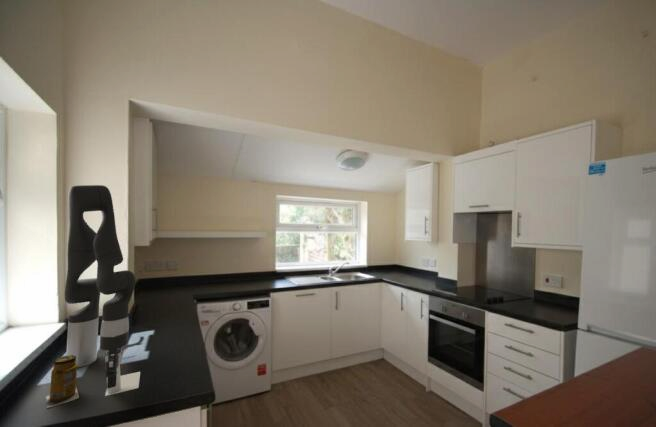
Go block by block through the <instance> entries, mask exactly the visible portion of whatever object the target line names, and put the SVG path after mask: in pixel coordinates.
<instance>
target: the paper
mask: <svg viewBox="0 0 656 427" xmlns="http://www.w3.org/2000/svg"><path fill="white" fill-rule="evenodd" d="M140 377H141V371H137V372H132V373H127V374H123V375H120V378H121V389H120V390H119V391H117V392H115V393H111V394H108V393H107V389H106V390H105V393H104V394H105V395H104V397H109V396H111V395H116V394H119V393H124V392H127V391H132V390H136V389H139V388H140V387H139V386H140Z"/></svg>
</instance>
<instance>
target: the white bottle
mask: <svg viewBox="0 0 656 427" xmlns="http://www.w3.org/2000/svg"><path fill="white" fill-rule="evenodd" d="M117 358H118V357H117ZM105 359H106V356H105V357H104V360H105ZM104 362H105V364H106V360H105V361H104ZM120 365H121V361H120V362H119V367H117V376H116V386H115V387H112V388H107V387H106V390H107V393H108V394H111V393H115V392H117V391H119V390H120V389H121V378H120V376H121V366H120ZM111 372H114V371H111ZM107 384H108V377H107V378H106V385H107Z"/></svg>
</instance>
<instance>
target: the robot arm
mask: <svg viewBox="0 0 656 427" xmlns="http://www.w3.org/2000/svg"><path fill="white" fill-rule="evenodd" d="M67 200H68V201H67V202H68V204H67V205H68V219H69V221H68V222H69V226H68V227H69V228H68V241H67V271H66V272H67V273H66V278H65V280H66V281H65V288H64V301H65V302H66V303H67V304H69V305H73V304H74V305H75V304H82V303H88V304H87V305H85V306H84V307H82V308H80V309H77V310H74V311H73V312H70V314H69V315H68V319H67V337H66V355H65V356H69V355H74V356H76V364H77V369H78V368H82V367H85V366H88V365H91V364H93V363H94V362H96V361H97V358H98V356H97V355H98V338H99V339H100V340H99V349H100V350H103V351H106V354H105V357H106V359H105V358H104V360H106V363H105V371H106V373H105V377H106V379H107V377H108V384H107V383H106V389H107V388H112V387H115V386H116V376H117V367H119V362H120V363H121V358H122V357H121V356H122V352H123V350H122V348H123V347H124V346H126V345H128V343H129V332H130V331H129V328H130V321H129V320H130V319H129V312H130V311H129V309H130V308H129V307H130V306H129V305H130V302H131V300H132V296H133V293H134V290H135V287H136V280H137V279H136V276H135V274H134V272H132V271H131V270H129V269H128V270H126V269H125V270H120V271H115V270H114V269H115V267H116V266H118V265H120V264H122V262H124V257H123V256H124V255H123V253H122V249H121V244H120V242H119V239H118V235H117V234H118V233H117V229H116V227H117V225H116V218H115V210H114V204H113V198H112V193H111V191H110V189H109V188H108V187H107V186H105V185H104V184H103V185H101V184H100V185H99V184H95V185H94V184H91V185H90V184H89V185H88V184H86V185H85V184H82V185H81V184H80V185H73V186H71V187H70V188H69V190H68V195H67ZM99 211H100V212H101V223H100V225H99V227H98V230H97V231H95V230H94V229H93V228H91V227H90V225H89V224H88V223H87V221H86V220H85V218H84V213H88V212H99ZM95 262H96V263H97V268H96V270H97V271H96V277H95V278H84V279H82V278H81V276H82V275H83V273H84V272H86V270H87V269H88V268H90V267H91V266H92V265H93V264H94V263H95ZM80 278H81V279H80ZM101 294H102V295H104V296H106V295H107V296H110V295H114V296H113V297H112V298H111V299H109V300H107V301H105V302H104V304H103V305H102V316H101V317H102V318H101V325H100V335H99V316H100V315H99V313H100V300H101ZM98 335H99V336H100V337H98ZM117 357H118V358H117ZM111 371H114V372H111Z"/></svg>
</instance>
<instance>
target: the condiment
mask: <svg viewBox="0 0 656 427" xmlns="http://www.w3.org/2000/svg"><path fill="white" fill-rule="evenodd" d="M52 368H53V369H52V370H51V372H50V373H51V374H50V388H49V389H50V390H49V394H48V395H46V396H45V402H46V404H45V406H46V409H48V408H52V407H56V406H59V405H62V404H65V403H68V402H71V401H75V400H77V399H79V398H80V396H79V392H78V388H77V371H78V368H77V364H76V356H74V355H69V356H66V355H63V356H61V357H58V358H55V360H54V361H53V367H52Z"/></svg>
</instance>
